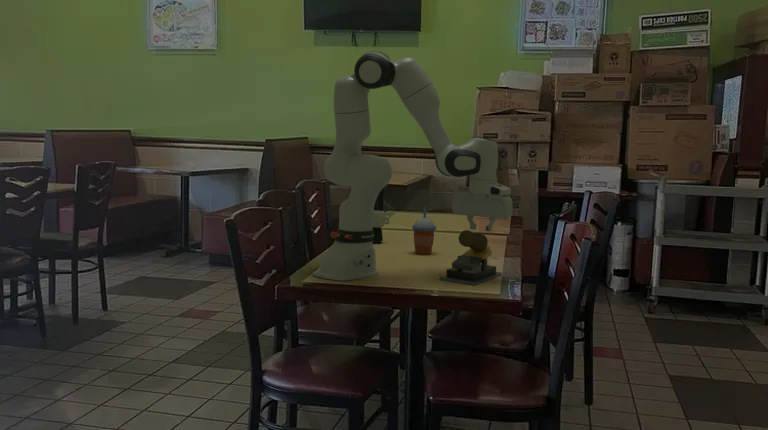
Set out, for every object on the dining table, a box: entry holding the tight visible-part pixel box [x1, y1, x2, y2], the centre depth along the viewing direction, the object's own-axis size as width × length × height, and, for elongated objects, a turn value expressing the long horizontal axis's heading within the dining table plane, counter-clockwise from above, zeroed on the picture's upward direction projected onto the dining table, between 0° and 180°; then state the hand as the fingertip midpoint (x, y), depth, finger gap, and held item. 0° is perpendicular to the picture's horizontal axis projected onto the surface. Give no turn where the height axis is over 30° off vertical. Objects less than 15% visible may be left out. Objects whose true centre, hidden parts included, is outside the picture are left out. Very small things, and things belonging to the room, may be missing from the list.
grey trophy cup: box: [372, 209, 390, 243], centre depth 290 cm, size 11×7×13 cm, turn 86°
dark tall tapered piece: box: [458, 229, 489, 252], centre depth 224 cm, size 6×6×11 cm
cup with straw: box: [411, 206, 437, 256], centre depth 268 cm, size 9×9×18 cm
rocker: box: [451, 245, 493, 271], centre depth 225 cm, size 14×7×3 cm, turn 146°
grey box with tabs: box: [439, 254, 503, 286], centre depth 226 cm, size 20×12×7 cm, turn 146°
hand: (480, 230), depth 229 cm, fingers open, 4 cm apart
